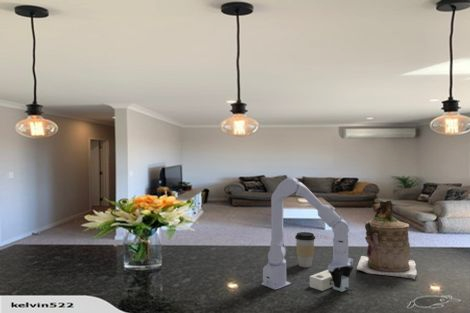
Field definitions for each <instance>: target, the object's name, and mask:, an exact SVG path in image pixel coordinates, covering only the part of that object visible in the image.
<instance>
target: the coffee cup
mask: <svg viewBox="0 0 470 313" xmlns="http://www.w3.org/2000/svg"><path fill="white" fill-rule="evenodd" d="M294 238H295V241H296V244H295V245H296V254H297V259H298V265H299V267H302V268H310V267H313V266H312V265H313V264H312V263H313V257H314V248H315V244H314V243H315V240H316V236H315V235H314V233H313V232H306V231H304V232H303V231H301V232H297V233H296V235H295V237H294Z"/></svg>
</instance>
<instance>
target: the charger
mask: <svg viewBox="0 0 470 313" xmlns="http://www.w3.org/2000/svg"><path fill="white" fill-rule="evenodd" d="M349 279H350V276H349V277H346V276H343V275H342V277H341V285H340V288H337V287H335V286H334V282H333V280H332V281H330V282H331V283H333V287H332V288H333V290H335V291H338V292H341V293H342V292H345V291H351V292H353V290H354V289H353V288H351V287H349V285H350V284H349Z"/></svg>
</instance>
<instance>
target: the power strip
mask: <svg viewBox="0 0 470 313" xmlns="http://www.w3.org/2000/svg"><path fill="white" fill-rule="evenodd" d="M332 280H333V279H332V276H331V274H330V272H329V271H328V269H325V270H323V271H320V272H316V273H314V274H313V275H309V288H312V289H316V290H318V291H322V292H323V291H325V290H328V289H330V288H333V283H331V282H330V281H332Z"/></svg>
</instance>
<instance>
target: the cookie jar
mask: <svg viewBox="0 0 470 313" xmlns="http://www.w3.org/2000/svg"><path fill="white" fill-rule="evenodd" d="M394 205H395V203H394V202H392V200H391V199H388V200H380V203H376V204H373V205H372V210H373V212H374V213H376V214H375V215H374V218H372V219H370V220H368V221H366V222H365V224H364V229H365V234H366V235H365V241H366V244H367V252H366V255H365V256H364V255H361V256H360V258H359V260H358V264H357V266H356V271H362V272H364V273H366V274H370V275H380V276H382V275H383V276H391V277H400V278H407V279H412V280H416V277H417V275H418V273H417V269H416V262H415V260H413V259H411V244H410V242H409V241H410V240H409V229H410V224H409V223H407V222H402V221H400V220H398V219H397V218H396V217H394V216H393V206H394Z"/></svg>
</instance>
